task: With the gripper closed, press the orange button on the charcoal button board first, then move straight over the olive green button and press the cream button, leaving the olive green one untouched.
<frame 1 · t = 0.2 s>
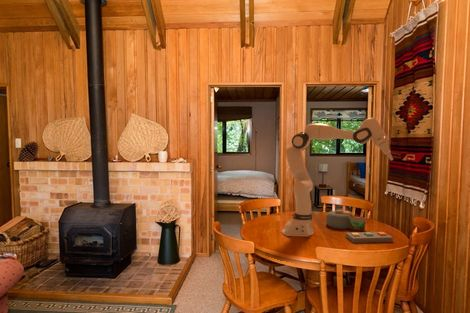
hand: (392, 159, 186), 54 cm above the table, tool tilted 30°, fingers open, 8 cm apart
orange button: (381, 234, 197), point 3 cm above the table, slide at 0.0 cm
food container: (357, 230, 216), on the table
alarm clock: (339, 225, 230), on the table
button board: (368, 239, 196), on the table
olive green button: (368, 234, 196), point 3 cm above the table, slide at 0.0 cm
cream button: (355, 234, 196), point 3 cm above the table, slide at 0.0 cm
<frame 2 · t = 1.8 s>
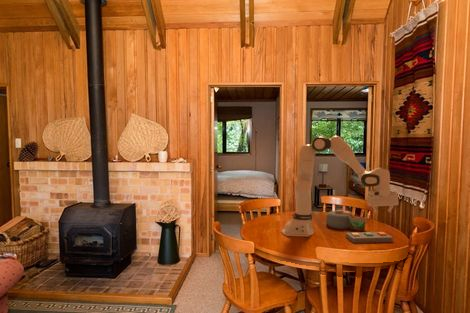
hand: (382, 212, 196), 18 cm above the table, tool pointing down, fingers open, 8 cm apart
nothing on the table moved.
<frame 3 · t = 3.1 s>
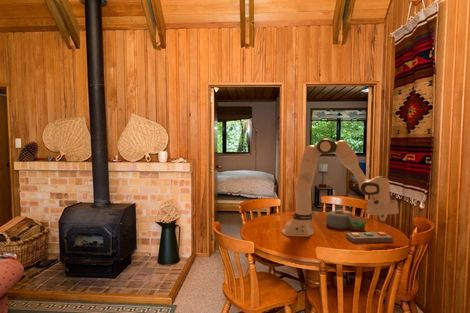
hand: (382, 220, 196), 12 cm above the table, tool pointing down, fingers closed
nothing on the table moved.
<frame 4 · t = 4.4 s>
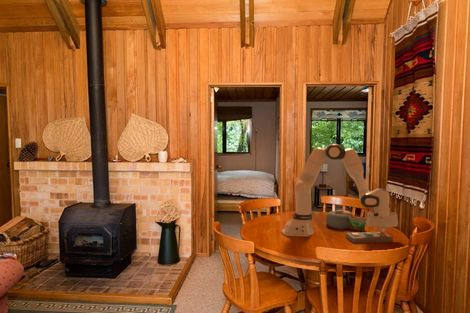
hand: (382, 233, 196), 4 cm above the table, tool pointing down, fingers closed, pressing on orange button
orange button: (381, 234, 197), point 3 cm above the table, slide at 0.2 cm, touching gripper
everything else where it was.
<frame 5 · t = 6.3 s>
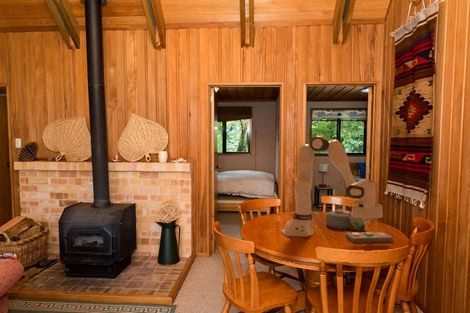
hand: (366, 224, 196), 10 cm above the table, tool pointing down, fingers closed
orange button: (381, 235, 197), point 2 cm above the table, slide at 1.0 cm
everything else where it was.
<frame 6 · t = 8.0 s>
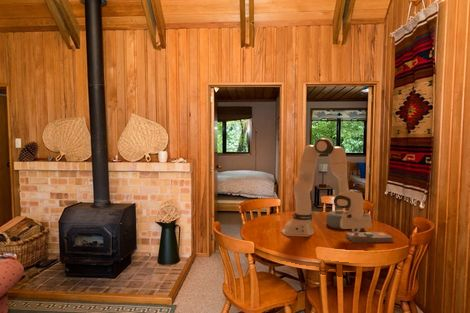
hand: (355, 234, 196), 3 cm above the table, tool pointing down, fingers closed, pressing on cream button
cream button: (355, 236, 196), point 2 cm above the table, slide at 0.9 cm, touching gripper
everything else where it was.
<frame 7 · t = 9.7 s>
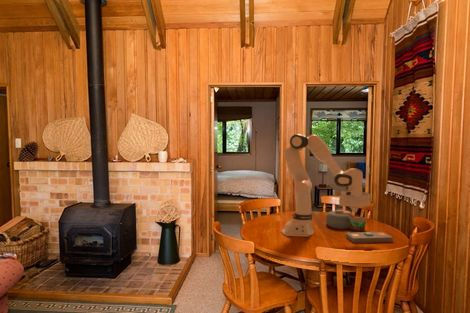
hand: (354, 212, 200), 17 cm above the table, tool pointing down, fingers closed
cream button: (355, 236, 196), point 2 cm above the table, slide at 1.1 cm
everything else where it was.
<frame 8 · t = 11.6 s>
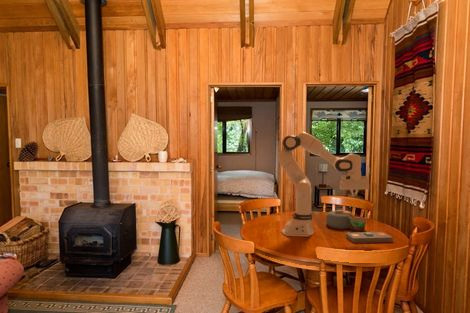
hand: (354, 195, 208), 27 cm above the table, tool pointing down, fingers closed
nothing on the table moved.
at the end: orange button slide at 1.0 cm; cream button slide at 1.1 cm; olive green button slide at 0.0 cm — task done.
